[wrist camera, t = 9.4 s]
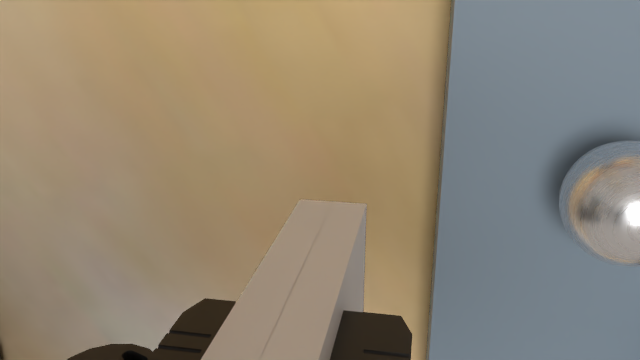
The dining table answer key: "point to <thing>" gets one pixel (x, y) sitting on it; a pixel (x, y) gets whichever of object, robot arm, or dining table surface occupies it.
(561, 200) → the steel ball
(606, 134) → the grey flat board
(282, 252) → the robot arm
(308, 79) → the dining table surface
